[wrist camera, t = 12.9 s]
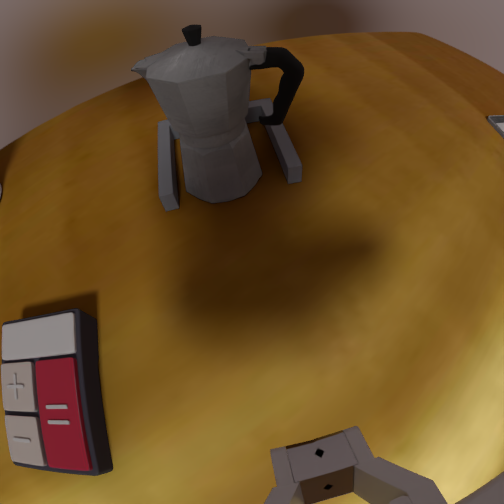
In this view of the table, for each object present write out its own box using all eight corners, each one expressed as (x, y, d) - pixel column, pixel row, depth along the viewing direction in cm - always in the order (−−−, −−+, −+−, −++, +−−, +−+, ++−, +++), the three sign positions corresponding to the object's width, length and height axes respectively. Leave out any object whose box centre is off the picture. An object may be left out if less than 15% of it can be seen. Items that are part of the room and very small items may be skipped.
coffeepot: (156, 201, 34) (93, 61, 19) (181, 144, 39) (144, 18, 23) (295, 213, 32) (300, 45, 16) (303, 151, 36) (306, 8, 21)
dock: (166, 211, 33) (159, 196, 31) (163, 135, 40) (158, 122, 38) (301, 181, 34) (302, 165, 32) (270, 112, 41) (269, 97, 39)
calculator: (7, 465, 17) (-3, 319, 24) (34, 463, 21) (22, 331, 28) (95, 477, 18) (74, 304, 24) (119, 470, 21) (98, 317, 28)
